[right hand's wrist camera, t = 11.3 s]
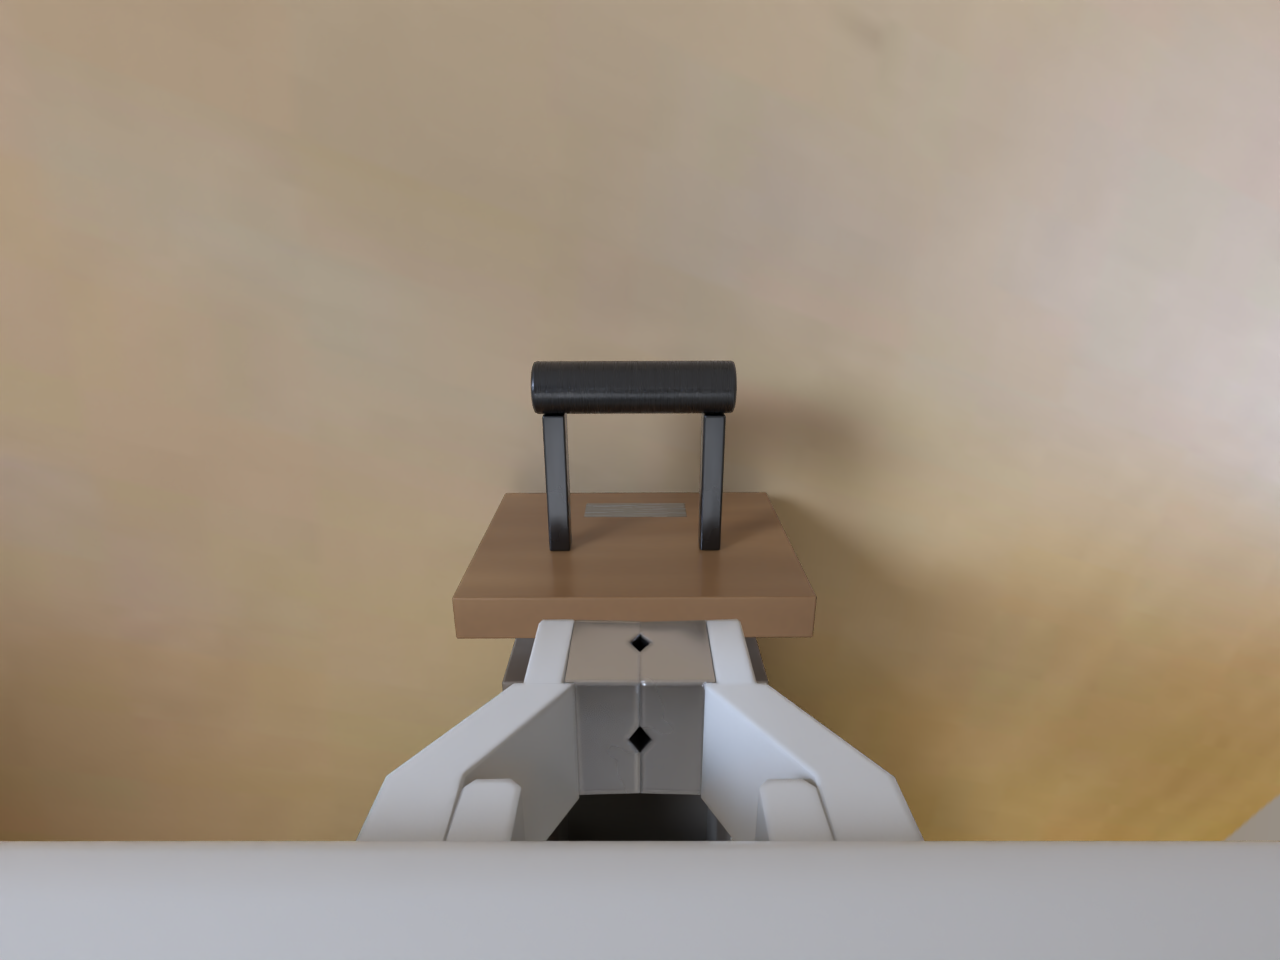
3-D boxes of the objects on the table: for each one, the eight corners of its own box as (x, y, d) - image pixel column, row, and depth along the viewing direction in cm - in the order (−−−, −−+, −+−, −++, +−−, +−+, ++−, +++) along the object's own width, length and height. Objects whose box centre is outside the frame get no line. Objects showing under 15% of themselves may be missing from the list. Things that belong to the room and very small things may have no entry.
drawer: (493, 337, 22) (427, 385, 15) (776, 336, 22) (838, 384, 15) (533, 860, 30) (501, 1048, 23) (742, 860, 30) (773, 1047, 23)
